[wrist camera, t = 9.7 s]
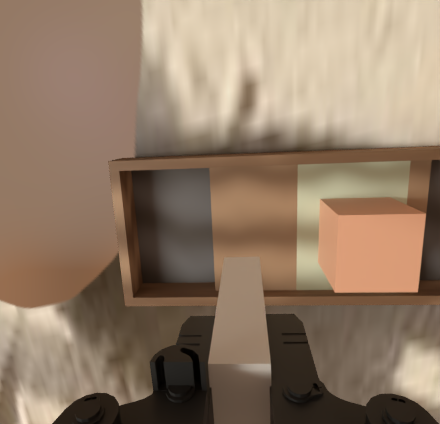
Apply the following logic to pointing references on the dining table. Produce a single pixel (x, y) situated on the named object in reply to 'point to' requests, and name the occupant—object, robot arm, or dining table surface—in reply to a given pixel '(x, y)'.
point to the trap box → (260, 221)
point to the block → (370, 244)
